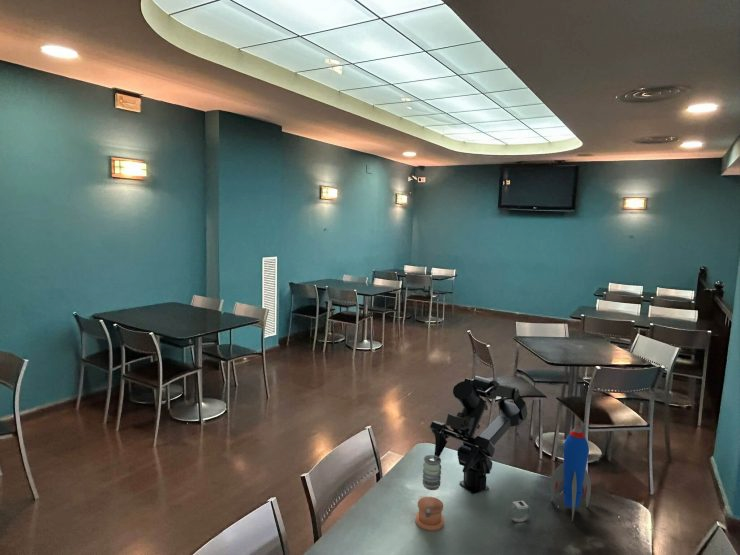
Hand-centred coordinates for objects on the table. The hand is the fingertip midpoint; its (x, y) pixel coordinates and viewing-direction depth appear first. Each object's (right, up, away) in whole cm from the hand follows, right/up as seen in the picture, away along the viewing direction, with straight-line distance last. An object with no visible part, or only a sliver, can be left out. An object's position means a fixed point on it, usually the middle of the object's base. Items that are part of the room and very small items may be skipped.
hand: (449, 466), depth 126 cm
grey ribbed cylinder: (-6, -3, -6) cm, 9 cm away
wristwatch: (+18, -14, -3) cm, 23 cm away
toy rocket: (+34, -14, +1) cm, 37 cm away
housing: (-6, -13, -4) cm, 15 cm away
